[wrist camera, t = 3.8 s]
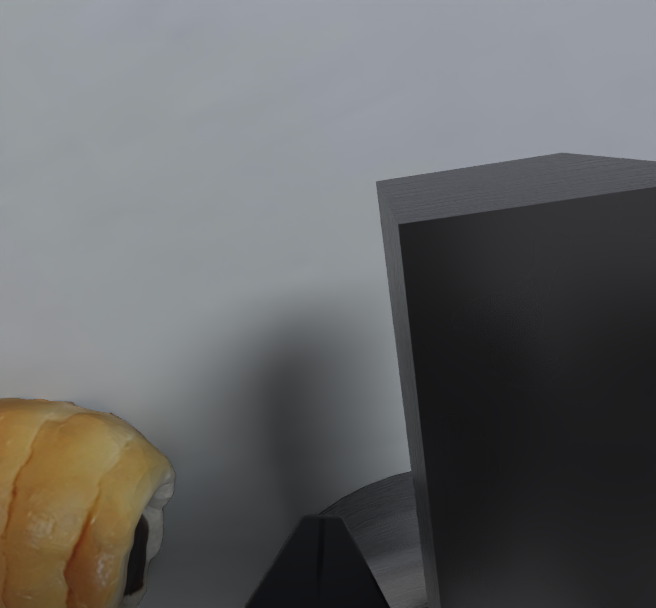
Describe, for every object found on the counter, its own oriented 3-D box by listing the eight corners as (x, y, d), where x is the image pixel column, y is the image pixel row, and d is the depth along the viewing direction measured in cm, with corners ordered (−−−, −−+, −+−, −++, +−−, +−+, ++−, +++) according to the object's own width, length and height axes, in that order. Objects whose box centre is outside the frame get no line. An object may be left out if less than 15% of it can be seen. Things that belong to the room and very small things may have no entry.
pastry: (-110, 523, 17) (-234, 627, 13) (-120, 344, 15) (-271, 410, 11) (164, 581, 17) (115, 698, 14) (192, 414, 15) (143, 500, 12)
